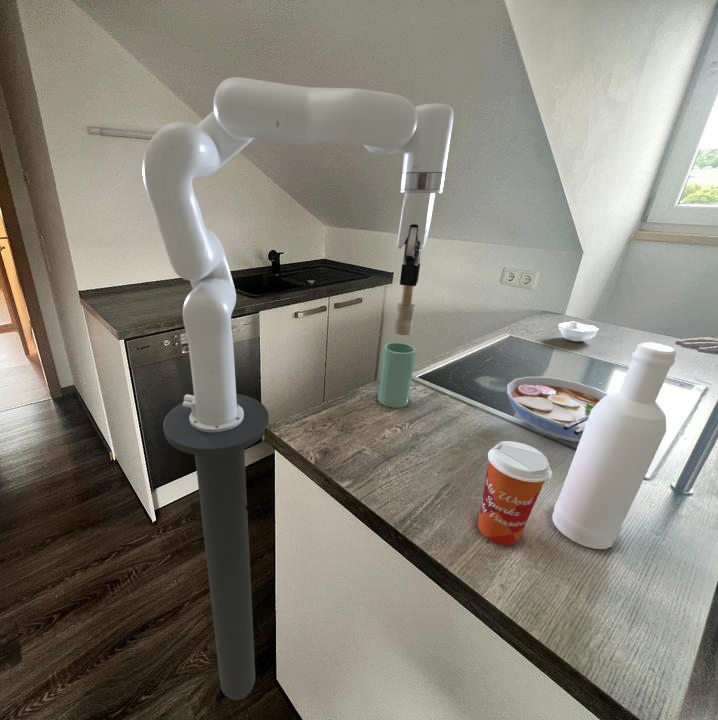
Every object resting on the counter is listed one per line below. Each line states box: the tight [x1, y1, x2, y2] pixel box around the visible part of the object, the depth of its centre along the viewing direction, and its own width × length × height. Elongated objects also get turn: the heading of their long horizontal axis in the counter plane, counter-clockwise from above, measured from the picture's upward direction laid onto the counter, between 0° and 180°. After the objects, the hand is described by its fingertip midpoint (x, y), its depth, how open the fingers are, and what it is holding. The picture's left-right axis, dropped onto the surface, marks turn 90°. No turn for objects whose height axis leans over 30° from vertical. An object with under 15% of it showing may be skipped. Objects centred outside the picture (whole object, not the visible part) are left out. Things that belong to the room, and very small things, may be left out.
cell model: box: [557, 320, 599, 342], centre depth 134 cm, size 10×12×7 cm
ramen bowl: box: [506, 376, 610, 443], centre depth 82 cm, size 25×23×8 cm
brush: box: [393, 285, 416, 336], centre depth 79 cm, size 4×4×16 cm
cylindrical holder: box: [377, 341, 417, 409], centre depth 93 cm, size 7×7×14 cm
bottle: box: [552, 341, 677, 550], centre depth 53 cm, size 8×8×30 cm
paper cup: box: [477, 440, 553, 546], centre depth 56 cm, size 8×8×14 cm
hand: (408, 283), depth 78 cm, fingers closed on brush, 2 cm apart
